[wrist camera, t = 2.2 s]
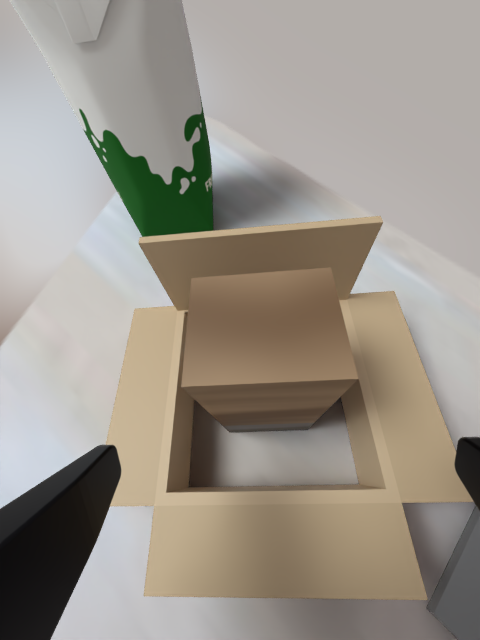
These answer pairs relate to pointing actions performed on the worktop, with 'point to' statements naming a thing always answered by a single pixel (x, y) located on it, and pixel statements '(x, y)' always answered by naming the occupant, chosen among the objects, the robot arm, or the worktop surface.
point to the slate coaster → (461, 586)
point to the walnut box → (267, 349)
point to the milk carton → (133, 102)
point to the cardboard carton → (282, 501)
